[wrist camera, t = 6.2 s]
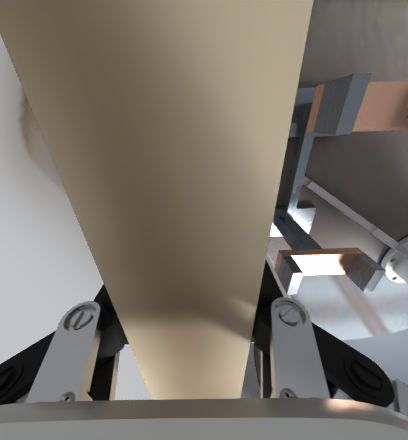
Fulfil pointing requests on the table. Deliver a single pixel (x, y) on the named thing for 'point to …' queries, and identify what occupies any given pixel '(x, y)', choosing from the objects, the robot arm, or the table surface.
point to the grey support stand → (306, 131)
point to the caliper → (355, 217)
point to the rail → (169, 161)
